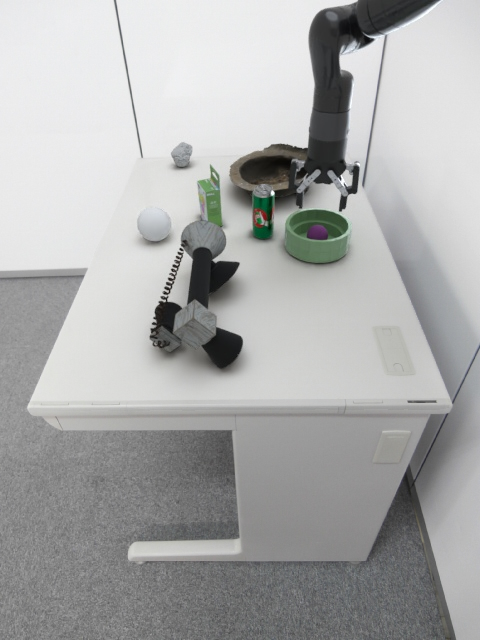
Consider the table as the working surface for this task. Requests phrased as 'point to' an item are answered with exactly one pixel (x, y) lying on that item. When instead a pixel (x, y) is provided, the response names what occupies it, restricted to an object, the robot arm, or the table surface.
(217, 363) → the telephone
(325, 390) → the table surface
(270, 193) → the soda can
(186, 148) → the grey muffin
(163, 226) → the ball
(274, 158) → the stone bowl
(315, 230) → the plum ball
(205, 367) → the table surface
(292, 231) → the green bowl
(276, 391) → the table surface
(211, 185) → the ink box
